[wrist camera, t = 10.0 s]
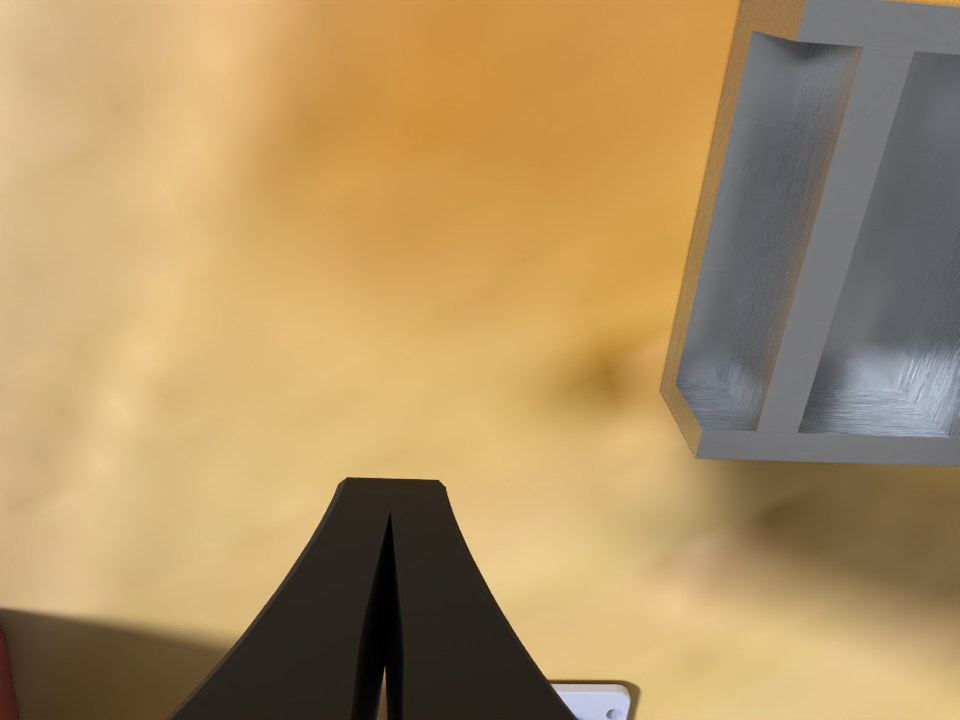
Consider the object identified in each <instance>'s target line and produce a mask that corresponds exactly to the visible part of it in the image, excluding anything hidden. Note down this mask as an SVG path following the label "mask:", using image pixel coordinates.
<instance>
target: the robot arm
mask: <svg viewBox="0 0 960 720" xmlns="http://www.w3.org/2000/svg"><path fill="white" fill-rule="evenodd" d="M384 668H385V674H386V696H387V717H388V720H627V716H628V712H629V708H630V704H631V698H630V695H629V691H628V690H627V688H626V687H624V686H622V685H617V684H550V683H549V681H548V680H547V679H546V677H545V676H544V675H543V673H542V672H541V671H540V669H539V668H538V666H537V665H536V663H535V662H534V661H533V659H532V658H531V656H530V655H529V653H528V652H527V650H526V649H525V647H524V646H523V644H522V643H521V641H520V640H519V638H518V637H517V635H516V633H515V632H514V630H513V629H512V627H511V625H510V624H509V622H508V621H507V619H506V617H505V616H504V614H503V612H502V611H501V609H500V607H499V606H498V604H497V602H496V600H495V599H494V597H493V595H492V593H491V592H490V590H489V588H488V586H487V584H486V582H485V580H484V578H483V576H482V575H481V573H480V571H479V569H478V567H477V565H476V563H475V561H474V559H473V557H472V555H471V553H470V551H469V549H468V547H467V545H466V542H465V540H464V538H463V536H462V533H461V531H460V529H459V526H458V524H457V521H456V519H455V516H454V514H453V511H452V508H451V505H450V502H449V499H448V495H447V491H446V487H445V486H444V485H443V484H442V483H441V482H440V481H439V480H423V479H387V478H351V477H347V478H346V479H344V480H343V481H342V482H341V483H339V484H338V487H337V489H336V492H335V494H334V496H333V499H332V501H331V503H330V505H329V507H328V509H327V511H326V513H325V514H324V516H323V518H322V520H321V522H320V524H319V525H318V527H317V529H316V530H315V532H314V534H313V535H312V537H311V539H310V541H309V542H308V544H307V545H306V547H305V548H304V550H303V551H302V553H301V554H300V556H299V558H298V559H297V561H296V562H295V564H294V565H293V567H292V568H291V570H290V571H289V573H288V574H287V576H286V577H285V579H284V580H283V582H282V583H281V585H280V586H279V587H278V589H277V590H276V592H275V593H274V594H273V595H272V597H271V598H270V599H269V601H268V602H267V603H266V605H265V606H264V607H263V609H262V610H261V611H260V613H259V614H258V615H257V617H256V618H255V619H254V621H253V622H252V623H251V625H250V626H249V627H248V628H247V630H246V631H245V632H244V634H243V635H242V636H241V637H240V639H239V640H238V641H237V642H236V643H235V645H234V646H233V647H232V648H231V649H230V651H229V652H228V653H227V654H226V655H225V656H224V658H223V659H222V660H221V661H220V662H219V663H218V665H217V666H216V667H215V668H214V669H213V670H212V671H211V672H210V674H209V675H208V676H207V677H206V678H205V679H204V680H203V681H202V682H201V683H200V685H199V686H198V687H197V688H196V689H195V690H194V691H193V692H192V693H191V694H190V695H189V697H188V698H187V699H186V700H185V701H184V702H183V703H182V704H181V705H180V706H179V707H178V708H177V709H176V710H175V711H174V712H173V713H172V714H171V715H170V716H169V717H168V718H167V719H166V720H377V716H378V709H379V702H380V695H381V689H382V682H383V675H384Z"/></svg>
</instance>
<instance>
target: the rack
mask: <svg viewBox="0 0 960 720" xmlns="http://www.w3.org/2000/svg"><path fill="white" fill-rule="evenodd" d="M660 393H661V395H662V397H663V399H664V400H665V402H666V404H667V406H668V408H669V410H670V412H671V414H672V415H673V417H674V419H675V421H676V423H677V425H678V427H679V429H680V430H681V432H682V434H683V436H684V438H685V440H686V442H687V444H688V445H689V447H690V449H691V451H692V453H693V455H694V457H695V458H700V459H733V460H765V461H797V462H829V463H861V464H893V465H925V466H958V467H960V5H951V4H939V3H928V2H917V1H905V0H741V3H740V8H739V13H738V17H737V22H736V27H735V32H734V37H733V42H732V46H731V51H730V56H729V61H728V66H727V70H726V75H725V80H724V85H723V90H722V94H721V99H720V104H719V109H718V114H717V119H716V123H715V128H714V133H713V138H712V143H711V147H710V152H709V157H708V162H707V167H706V171H705V176H704V181H703V186H702V191H701V195H700V200H699V205H698V210H697V215H696V220H695V224H694V229H693V234H692V239H691V244H690V248H689V253H688V258H687V263H686V268H685V272H684V277H683V282H682V287H681V292H680V297H679V301H678V306H677V311H676V316H675V321H674V325H673V330H672V335H671V340H670V345H669V349H668V354H667V359H666V364H665V369H664V373H663V378H662V383H661V388H660Z"/></svg>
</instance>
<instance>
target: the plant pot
mask: <svg viewBox="0 0 960 720" xmlns="http://www.w3.org/2000/svg"><path fill="white" fill-rule="evenodd" d="M0 720H19V716H18V710H17V704H16V697H15V692H14V687H13V682H12V677H11V671H10V666H9V660H8V654H7V647H6V641H5V637H4V635H3V633H2V631H1V629H0Z"/></svg>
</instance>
